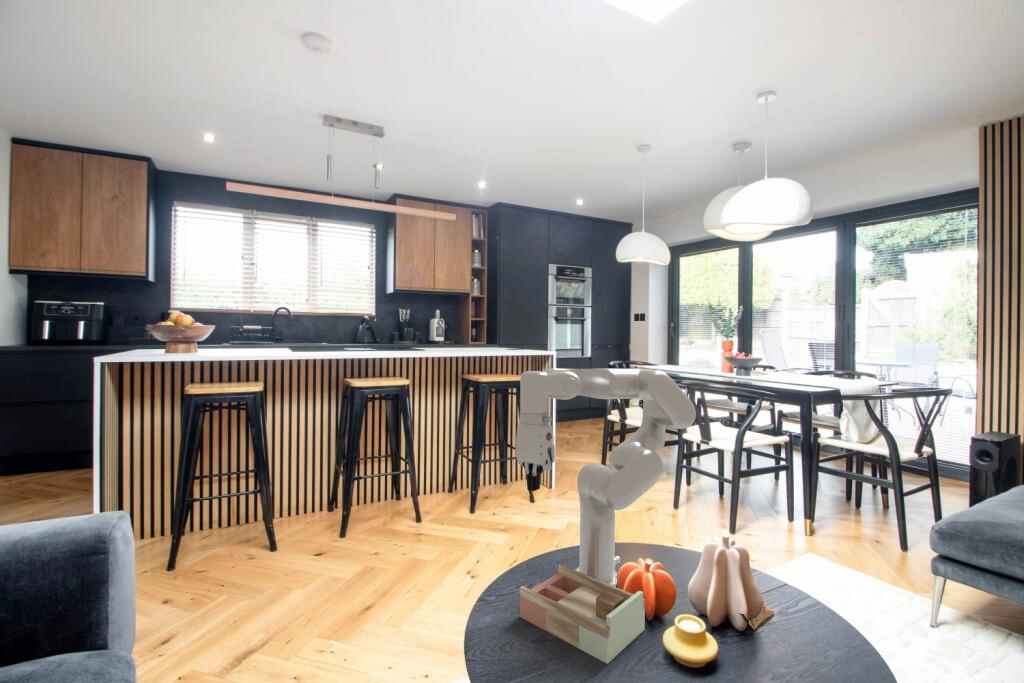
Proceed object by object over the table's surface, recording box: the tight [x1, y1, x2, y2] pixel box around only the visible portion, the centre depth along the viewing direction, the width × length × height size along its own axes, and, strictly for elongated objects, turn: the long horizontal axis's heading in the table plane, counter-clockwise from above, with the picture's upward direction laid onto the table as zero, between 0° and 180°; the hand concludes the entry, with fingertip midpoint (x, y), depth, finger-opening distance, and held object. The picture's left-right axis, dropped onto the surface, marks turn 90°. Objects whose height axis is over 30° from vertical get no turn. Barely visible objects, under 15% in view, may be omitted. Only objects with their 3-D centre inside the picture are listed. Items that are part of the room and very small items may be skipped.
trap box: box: [519, 564, 646, 665], centre depth 112 cm, size 16×24×9 cm, turn 47°
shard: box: [748, 604, 775, 630], centre depth 116 cm, size 11×8×2 cm
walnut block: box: [596, 591, 625, 621], centre depth 106 cm, size 4×4×4 cm
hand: (533, 489), depth 124 cm, fingers closed
